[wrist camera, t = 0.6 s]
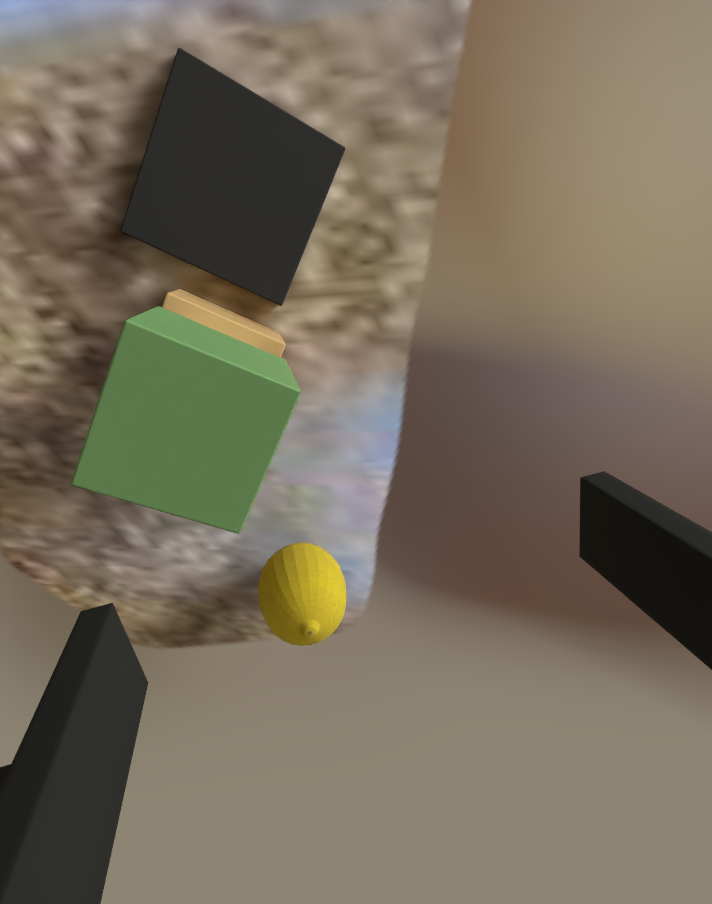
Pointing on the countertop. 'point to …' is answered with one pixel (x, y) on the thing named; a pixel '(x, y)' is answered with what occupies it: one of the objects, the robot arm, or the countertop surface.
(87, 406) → the countertop surface
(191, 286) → the countertop surface
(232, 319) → the maple block
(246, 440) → the green block
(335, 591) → the lemon
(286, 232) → the coaster
